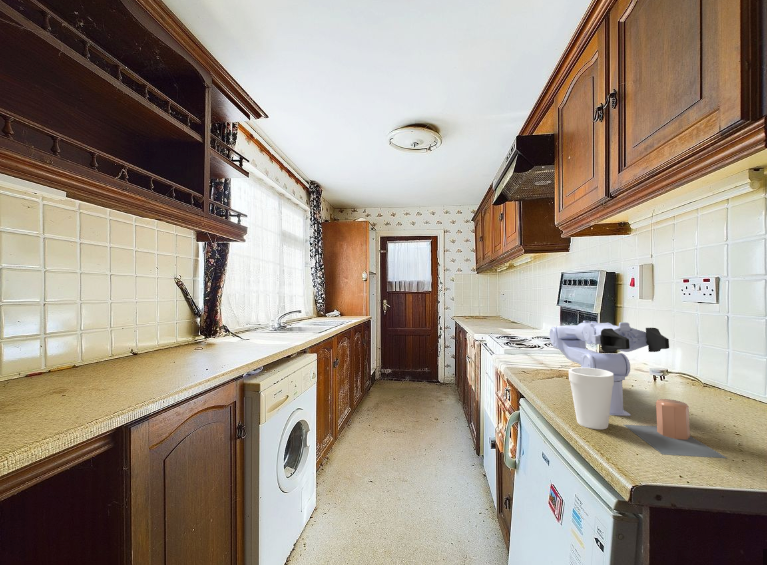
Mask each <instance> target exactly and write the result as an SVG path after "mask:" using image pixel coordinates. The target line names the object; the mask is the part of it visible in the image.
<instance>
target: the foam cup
mask: <svg viewBox="0 0 767 565" xmlns="http://www.w3.org/2000/svg"><path fill="white" fill-rule="evenodd" d="M568 381H569V383H570V389H571V394H572V399H573V401H572V402H573V407H574V411H575V417H576V422H577V424H578V425H579V426H581V427H584V428H588V429H592V430H605V429H607V428H609V424H610V423H609V422H610V415H609V414H610V405H611V397H612V388H613V385H614V376H613V373H612V372H609V371H606V370H602V369H595V368H581V367H572V368H569V369H568Z"/></svg>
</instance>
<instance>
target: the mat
mask: <svg viewBox="0 0 767 565" xmlns="http://www.w3.org/2000/svg"><path fill="white" fill-rule="evenodd" d="M623 426H624V427H625V428H627V429H628V430H629V431H630V432H632V433H633V434H635V435H636V436H638V437H639V438H640V439H641V440H642V441H644V442H645V443H647V444H648V445H649V446H651V447H652V448H654V449H655V450H656V451H658V452H659V453H660V454H661V455H666V456H681V457H682V456H683V457H701V458H714V459H715V458H716V459H718V458H719V459H728V457H726V456H725V455H723V454H721V453H719V452H718V451H716V450H714V449H713V448H711V447H710V446H708V445H706V444H705V443H703V442H702V441H699V440H698V439H696V438H694V437H692V436H691V435H690V437H689V438H688V439H687V440H685V439H674V438H670V437H666V436H663V435H662V434H660V433H658V432H657V425H640V424H639V425H637V424H623Z"/></svg>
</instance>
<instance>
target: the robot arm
mask: <svg viewBox="0 0 767 565" xmlns="http://www.w3.org/2000/svg"><path fill="white" fill-rule="evenodd" d="M549 340H550V342H551V345H552V347H553V348H556V349H557V350H559V351H560V352H561V353H562V355H564V357H565V358H566V359H567V360H569V361H571V362H573V363H576V364H578V365H580V368H595V369H602V370H606V371H609V372H612V373H613V376H614V385H613V388H612V397H611V405H610V414H609V416H627V417H628V416H629V417H631V416H632V415H631V413H629V412H628V411H626V410H624V391H623V381H625V380H626V378H627V377H628V376H629V374H630V372H631V363H630V360H629V358H628V357H627V356H626V354H625V353H630V352H633V351H636V350H639V349H641V348H644V347H647V349H648V353H658V352H661V350H667V349H670V340H669V338H668V337H666V336H664V335H663V334H661V332H660V329H659V328H656V327H645V331H644V330H640V329H637V328H633V327H631V326H630V323H629V322H626V321H625V322H619V323H618V325H615V324H612V323H610V322H597V321H594V320H593V321H590V320H583V321H582V322H580V323H578V324H577V325H576V324H575V325H574V324H571V325H568V324H567V325H566V324H565V325H557V326H552V327H551V328H550V330H549ZM586 343H587V344H588V345H591V344H594V345H601V350H602V351H603V352H604V353H603V352H602V353H601V352H598V351H595V350H591V349H588V348H587V344H586ZM616 351H620V352H618V353H614V352H616ZM622 352H624V353H622Z"/></svg>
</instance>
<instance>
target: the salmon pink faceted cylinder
mask: <svg viewBox="0 0 767 565" xmlns="http://www.w3.org/2000/svg"><path fill="white" fill-rule="evenodd" d="M655 406H656V407H655V409H656V410H655V411H656V426H657V432H658V433H660V434H662V435H663V436H666V437H670V438H674V439H685V440H687V439H688V438H689V437H690V436H691V433H690V432H691V430H690V425H691V424H690V410H689V409H690V408H689V405H688V404H687V403H686V402H684V401H679V400H676V399H675V400H674V399H670V398H669V399H668V398H659V399H657V400H656V402H655Z"/></svg>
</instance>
